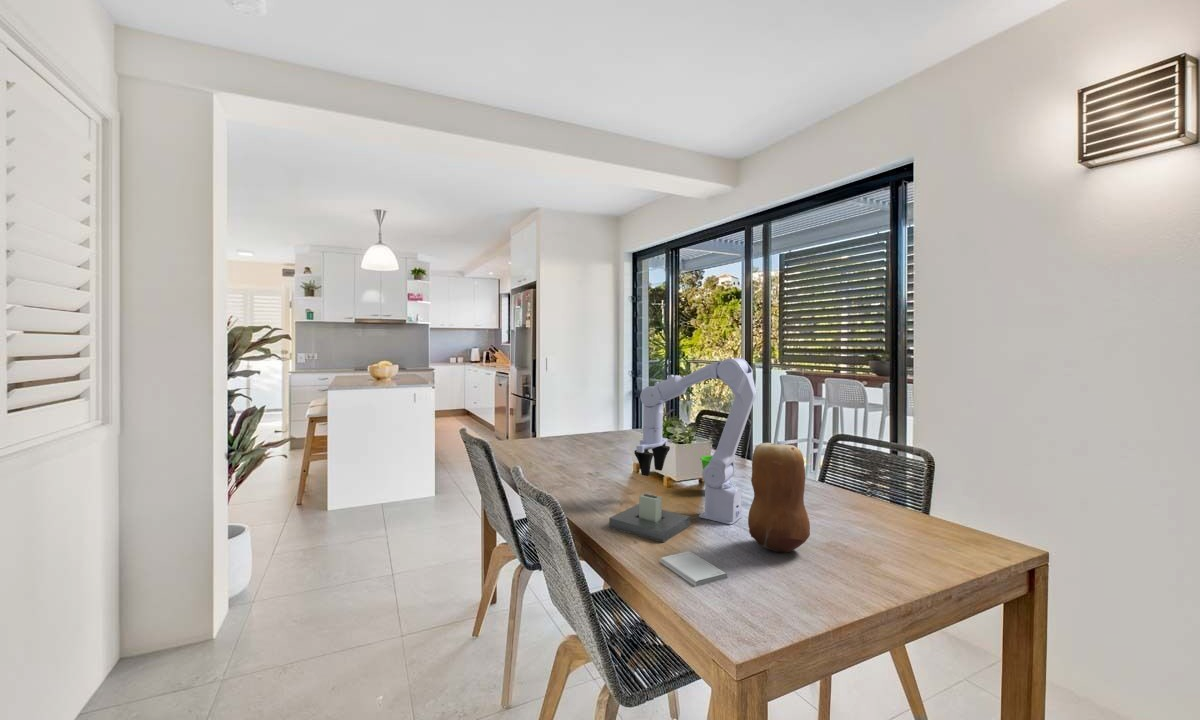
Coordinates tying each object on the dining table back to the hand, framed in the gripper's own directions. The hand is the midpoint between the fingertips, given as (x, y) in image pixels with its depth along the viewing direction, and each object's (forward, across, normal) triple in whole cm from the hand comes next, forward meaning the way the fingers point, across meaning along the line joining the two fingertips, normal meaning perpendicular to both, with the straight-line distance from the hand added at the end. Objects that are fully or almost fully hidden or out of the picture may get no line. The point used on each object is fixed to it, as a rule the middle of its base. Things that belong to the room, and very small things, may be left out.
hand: (652, 472), depth 151 cm
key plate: (+9, +16, +9) cm, 21 cm away
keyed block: (+9, +16, +9) cm, 21 cm away
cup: (+10, -22, +10) cm, 26 cm away
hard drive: (+10, +32, +29) cm, 44 cm away
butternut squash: (+10, +10, +40) cm, 42 cm away
